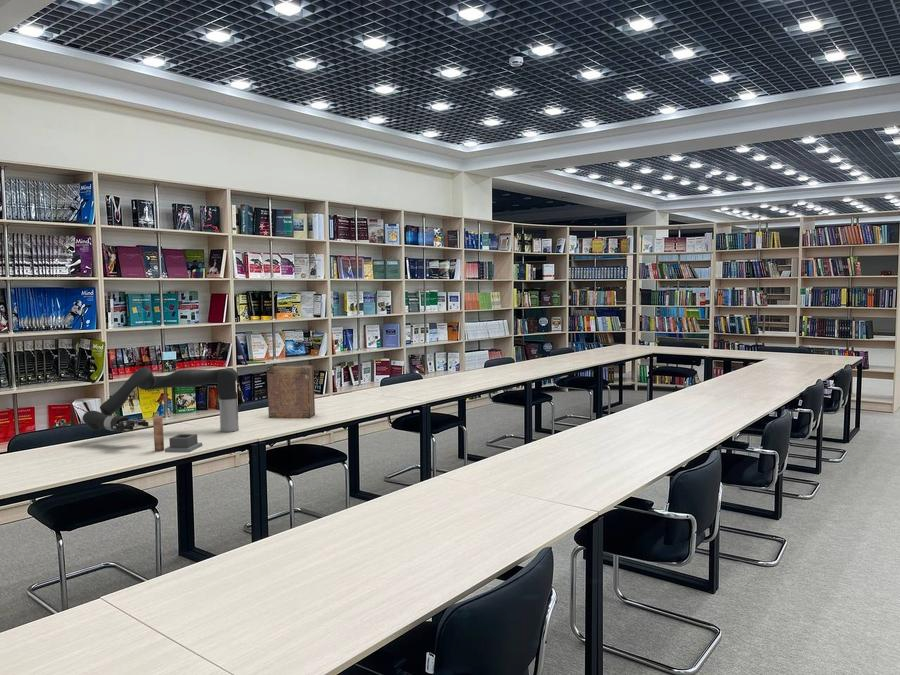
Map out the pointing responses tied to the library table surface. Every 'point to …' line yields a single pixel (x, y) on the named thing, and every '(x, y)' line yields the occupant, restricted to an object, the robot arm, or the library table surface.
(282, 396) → the book
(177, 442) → the socket board
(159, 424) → the peg
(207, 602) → the library table surface
